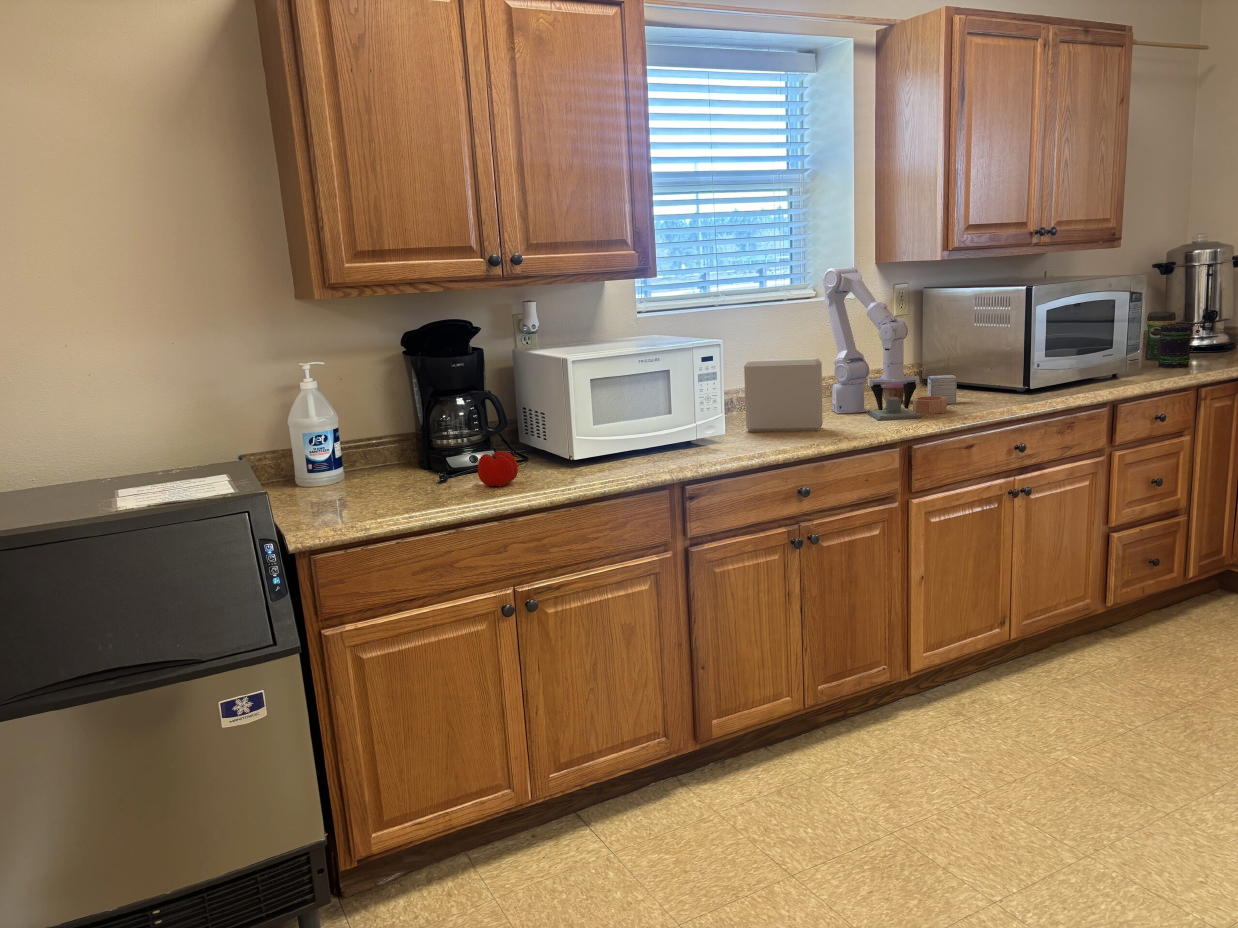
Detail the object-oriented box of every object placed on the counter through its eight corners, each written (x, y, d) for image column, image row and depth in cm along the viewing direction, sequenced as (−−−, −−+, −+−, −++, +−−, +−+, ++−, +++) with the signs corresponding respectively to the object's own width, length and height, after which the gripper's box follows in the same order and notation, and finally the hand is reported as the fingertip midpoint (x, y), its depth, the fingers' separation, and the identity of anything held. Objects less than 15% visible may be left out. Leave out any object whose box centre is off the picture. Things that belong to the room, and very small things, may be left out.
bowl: (919, 414, 266) (919, 401, 265) (910, 410, 274) (910, 397, 274) (949, 412, 265) (950, 399, 265) (939, 408, 274) (939, 395, 273)
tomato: (479, 490, 206) (476, 458, 205) (479, 482, 215) (476, 451, 213) (520, 486, 208) (517, 455, 206) (518, 478, 216) (515, 448, 215)
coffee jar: (1177, 358, 349) (1180, 310, 346) (1167, 361, 345) (1170, 312, 341) (1151, 357, 357) (1153, 310, 353) (1141, 360, 353) (1143, 312, 349)
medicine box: (952, 402, 284) (953, 374, 282) (956, 404, 280) (957, 376, 278) (927, 403, 285) (927, 376, 283) (930, 405, 281) (930, 377, 279)
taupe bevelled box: (823, 426, 257) (822, 356, 253) (821, 431, 250) (820, 359, 245) (749, 427, 263) (747, 359, 259) (745, 432, 256) (743, 362, 252)
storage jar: (1163, 364, 336) (1166, 324, 333) (1193, 365, 328) (1196, 324, 325) (1153, 367, 330) (1155, 326, 326) (1182, 369, 322) (1185, 327, 319)
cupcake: (913, 402, 288) (913, 371, 286) (892, 405, 285) (892, 374, 283) (893, 399, 296) (893, 369, 294) (872, 402, 293) (872, 372, 291)
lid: (879, 418, 261) (879, 402, 260) (869, 412, 272) (869, 397, 271) (917, 416, 261) (917, 399, 260) (906, 410, 271) (906, 394, 270)
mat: (877, 420, 260) (877, 419, 260) (866, 414, 273) (866, 412, 272) (921, 418, 260) (920, 416, 260) (908, 411, 272) (908, 410, 272)
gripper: (872, 366, 259) (872, 412, 262) (922, 362, 259) (922, 409, 262) (865, 363, 266) (866, 408, 269) (915, 360, 266) (914, 405, 269)
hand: (893, 409), depth 266 cm, fingers open, 7 cm apart
